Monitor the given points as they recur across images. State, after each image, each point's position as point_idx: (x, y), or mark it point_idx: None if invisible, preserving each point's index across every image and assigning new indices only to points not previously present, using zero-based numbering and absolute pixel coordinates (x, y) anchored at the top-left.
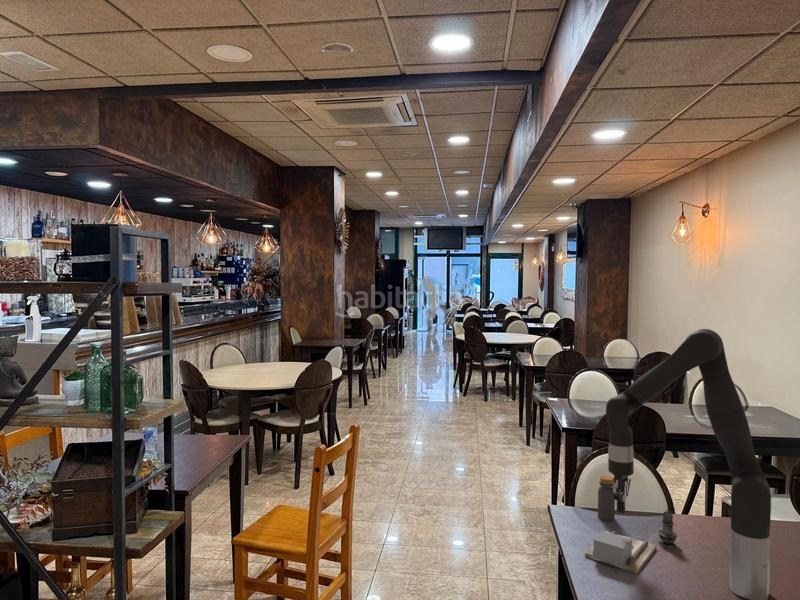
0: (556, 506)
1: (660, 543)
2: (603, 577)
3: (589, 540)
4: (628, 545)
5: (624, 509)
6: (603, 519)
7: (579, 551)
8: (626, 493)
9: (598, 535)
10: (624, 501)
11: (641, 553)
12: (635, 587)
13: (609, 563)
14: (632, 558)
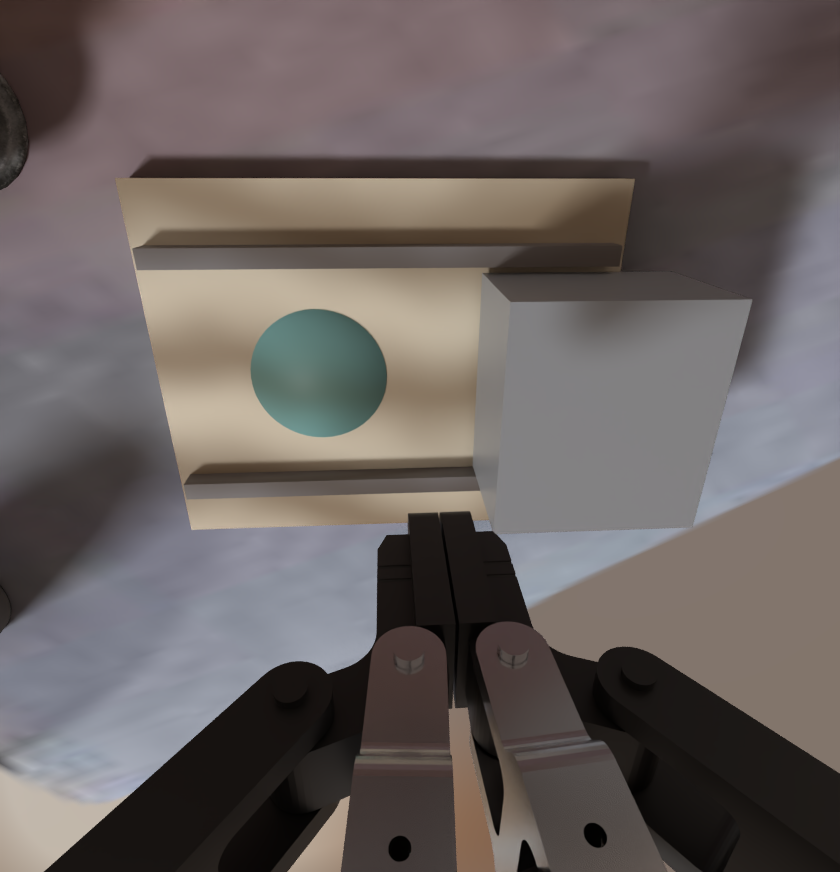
0: (85, 801)
1: (2, 171)
2: (775, 340)
3: (357, 555)
4: (605, 295)
5: (438, 530)
6: (5, 600)
7: (530, 543)
8: (317, 729)
9: (599, 528)
10: (455, 618)
11: (353, 234)
12: (825, 128)
13: None
14: (536, 252)
